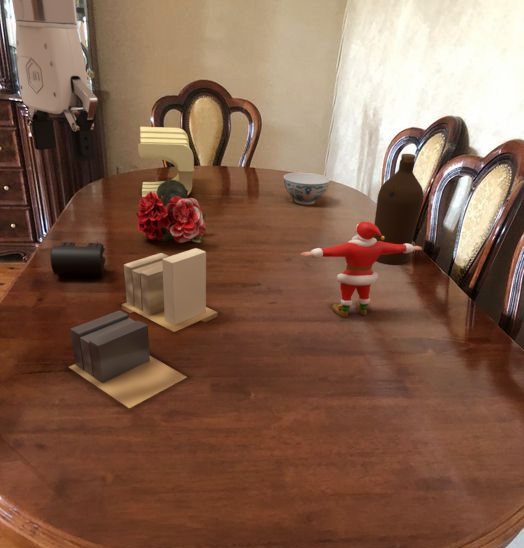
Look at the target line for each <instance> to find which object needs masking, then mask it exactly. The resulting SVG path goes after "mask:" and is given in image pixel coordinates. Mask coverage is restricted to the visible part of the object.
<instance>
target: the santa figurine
mask: <svg viewBox="0 0 524 548" xmlns="http://www.w3.org/2000/svg"><path fill="white" fill-rule="evenodd" d="M354 234H355V235H354V236H352V238H351V240H348V241H347V242H345V243H343V244H338V245H334V246H331V247H325V248H321V247H316V248H313V249H311V250H310V251H303V252H301V253H300V256H302V257H305V258H306V257H307V258H308V257H312V258H314V259H321V258H344V259H345V263H346V269H345V270H344V271H343V272H342V273H338V274H337V276H336V281H337V282H338V283H339V284H340V286H339V287H340V288H339V289H340V291H341V292H340V293H341V299H340V304H338V303H334V304H332V306H331V309H332V312H333V314H336V315H338V316H340V317H341V318H348V316H349V309H350V308H351V306H352V305H353V302H354V301H353V299H352V297H353V295H354V292H355V291H356V292H357V295H358V299H357V304H356V309H357V311H358V313H359V315H360V316H363V317H364V316H367V315H368V310H367V309H368V305H369V304H370V301H371V298H370V292H371V285H373V284H375V283H376V282H377V281H378V279H379V274H378V272H377V271H375V270H373V269H372V268H373V265H374V264H375V263H376V262H377V261H376V260H377V258H378V257H379V256H380V254H381V255H383V254H394V253H401V252H403V253H410V254H411V253H412V252H414V251H422V250H423V247H422V246H419V245H413V244H412V245H411V244H392V243H386V242H382V241H377V240H376V239H375V238H373V237H374V236H375V234H377V235H379V236H381V239H382V240H384V236H382V235H381V233H380V231H379V229H378V227H377V226H376V225H375V223H372V222H370V221H361V222H359V223H357V225H356V226H355V231H354Z"/></svg>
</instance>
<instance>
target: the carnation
mask: <svg viewBox="0 0 524 548" xmlns="http://www.w3.org/2000/svg"><path fill="white" fill-rule="evenodd" d="M164 181H165V182H163V183H162V184H160V185H159V187H158V189H157V195H156V194H155V193H152V192H151V191H150V192H149V193H148V194H147V195H146V196H145V197H140V200H139V211H138V212H136V213H135V215H136V218H137V226H138V227H137V228H138V229H137V230H138V232H140V233H141V232H142V233H143V235H145V236H146V238H147V239H148V240H152V241H154V240H157V241H158V242H167V241H170V240H172V239H173V240H174V241H175V242H177V243H180V244H182V243H186V242H192V243H197V244H198V243H199V244H200V243H202V241H203V235H204V234H205V232H206V229H207V227H206V226H207V225H206V223H205V221H204V220H205V219H206V218H207V216H206V214H205V213H203V212H202V211H201V206H200V202H198V200H197V198H193V197H189V195H188V190H186V188H185V186H184V185H183V184H182V183H180V182H179V181H176V180H171V179H168V180H164Z"/></svg>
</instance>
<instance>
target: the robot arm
mask: <svg viewBox="0 0 524 548" xmlns="http://www.w3.org/2000/svg"><path fill="white" fill-rule="evenodd" d="M11 1H12V2H11V3H12V9H13V15H14V20H15V21H14V22H15V51H16V52H15V53H16V54H15V55H16V64H17V73H18V82H19V84H18V87H19V91H20V96H21V100H22V102H23V104H24V106H25V108H26V110H27V117H28V119H29V120H30V128H31V133H32V140H33V147H34V149H35V150H37V151H43V150H51V149H56V147H57V142H56V141H57V140H56V135H55V128H54V120H53V118H50V116H51V114H54V115H60V114H62V113H63V114H64V116H65V118H66V119H67V122H68V123H69V126H70V127H71V130H70V129H69V130H68V133H69V139H70V140H69V142H70V150H71V157H72V161H74V162H76V163H80V162H87V161H93V160H95V158H96V157H95V147H94V146H95V145H94V137H93V131H94V129H95V121H96V119H97V113H96V112H97V107H98V101H99V100H98V97H97V96H96V95H95V94H94V93H93V92H92V90H90V88H89V85H88V76H87V70H86V65H85V58H84V53H83V48H82V43H81V38H80V35H79V31H78V30H79V26H78V16H77V15H78V14H77V6H76V5H77V4H76V0H11ZM76 115H78V116H77V117H76Z"/></svg>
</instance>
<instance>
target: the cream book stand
mask: <svg viewBox="0 0 524 548" xmlns="http://www.w3.org/2000/svg"><path fill="white" fill-rule="evenodd" d="M166 257H170V255H168V254H165V253H162V252H160V253H156V254H153V255H149V256H146V257H144V258H140V259H137V260H134V261H130V262H127V263H124V264H123V272H124V285H125V295H126V302H125V303H122V304H121V310H123V311H125V312H127V313H129V314H131V313H134V312H135V313H137V314H138V315H141V316H143V317H144V318H146V319H148V320H150V321H152V322H154V323H156V324H158V325H159V326H162V327H163V328H165V329H167V330H169V331H171V332H172V333H176V332H177V331H179V330H182V329H184V328H186V327H189V326H191V325H194V324H195V323H198V322H199V321H201V322H203V323H207V322H209V321H211V320H214V319H216V318H218V316H219V315H218V314H219V313H218V311H216V310H214V309H211V308H210V307H207V306H206V312H204V313H201V314H199V315H197V316H195V317H192V318H190V319H188V320H185V321H183V322H181V323H179V324H176V325H173V324H171V323H169V322H167V321H165V311H164V288H163V265H162V259H163V258H166Z"/></svg>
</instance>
